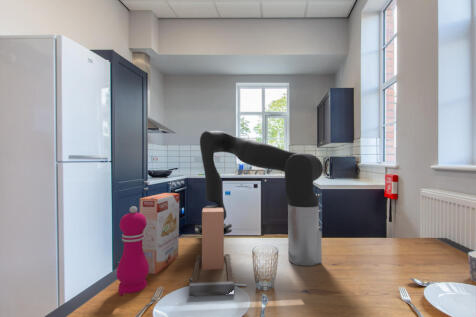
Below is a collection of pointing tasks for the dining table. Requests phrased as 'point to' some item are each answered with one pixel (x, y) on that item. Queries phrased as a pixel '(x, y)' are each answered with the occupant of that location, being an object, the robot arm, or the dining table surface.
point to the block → (212, 238)
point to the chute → (211, 279)
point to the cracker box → (160, 229)
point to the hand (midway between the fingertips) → (213, 235)
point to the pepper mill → (132, 254)
